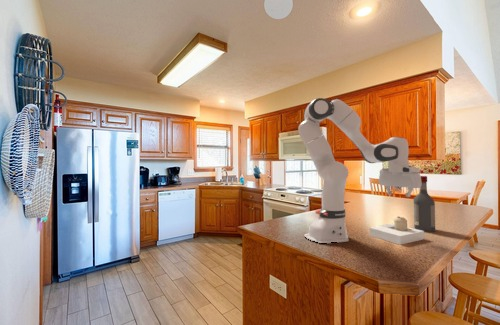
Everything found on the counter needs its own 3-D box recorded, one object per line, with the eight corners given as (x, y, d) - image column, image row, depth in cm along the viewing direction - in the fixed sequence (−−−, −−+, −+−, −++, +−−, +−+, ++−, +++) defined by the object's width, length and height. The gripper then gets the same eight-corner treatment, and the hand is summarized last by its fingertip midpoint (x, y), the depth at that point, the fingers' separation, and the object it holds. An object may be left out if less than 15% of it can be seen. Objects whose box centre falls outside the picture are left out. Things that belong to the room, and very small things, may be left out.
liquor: (433, 228, 130) (432, 175, 131) (435, 232, 123) (434, 176, 123) (414, 226, 135) (412, 175, 136) (414, 230, 128) (413, 176, 128)
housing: (400, 244, 106) (399, 236, 106) (369, 235, 120) (369, 227, 120) (424, 239, 113) (424, 231, 113) (392, 230, 128) (392, 223, 128)
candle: (392, 235, 120) (391, 216, 120) (402, 234, 120) (401, 215, 120) (399, 238, 114) (399, 218, 114) (410, 238, 115) (409, 218, 115)
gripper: (375, 168, 127) (376, 193, 126) (415, 169, 108) (415, 198, 108) (383, 168, 129) (383, 193, 129) (423, 168, 110) (423, 197, 110)
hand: (398, 195), depth 118 cm, fingers open, 8 cm apart
